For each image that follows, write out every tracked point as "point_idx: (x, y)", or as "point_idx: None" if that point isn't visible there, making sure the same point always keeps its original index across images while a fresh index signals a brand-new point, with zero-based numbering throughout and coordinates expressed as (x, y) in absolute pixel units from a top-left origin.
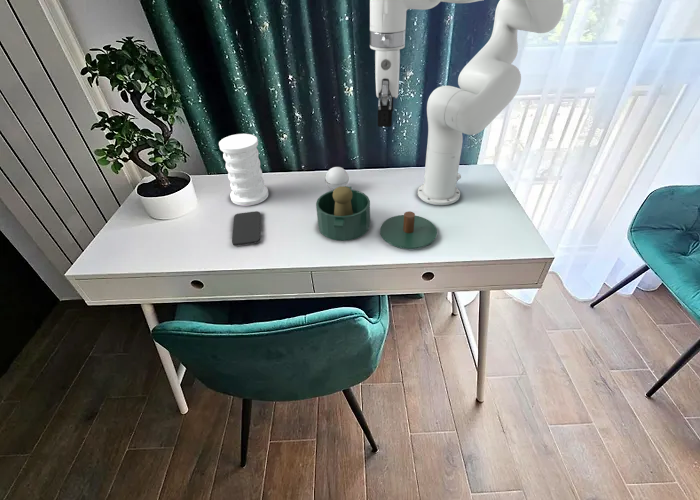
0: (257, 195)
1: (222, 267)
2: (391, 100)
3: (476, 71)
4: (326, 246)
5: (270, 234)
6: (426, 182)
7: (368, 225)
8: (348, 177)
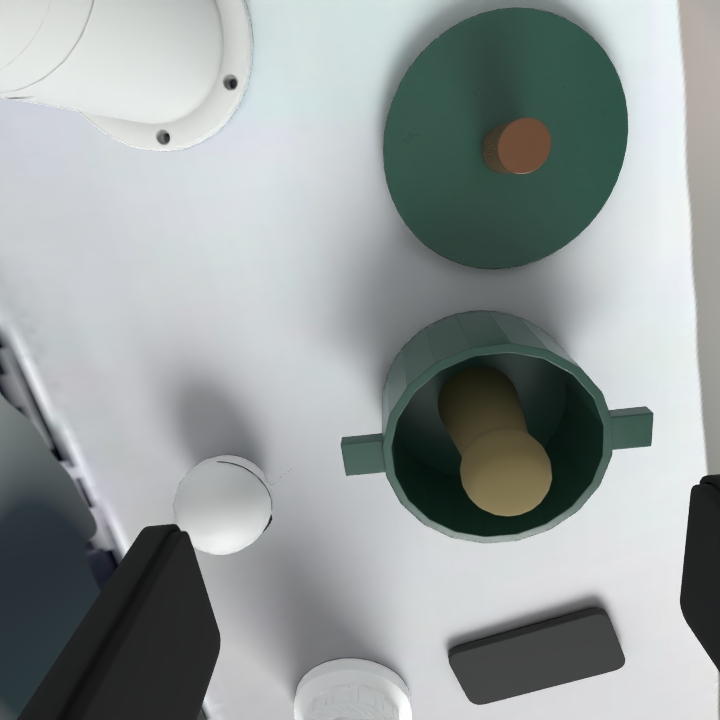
0: (375, 691)
1: None
2: (122, 673)
3: None
4: None
5: (552, 591)
6: (173, 98)
7: (500, 316)
8: (207, 466)
